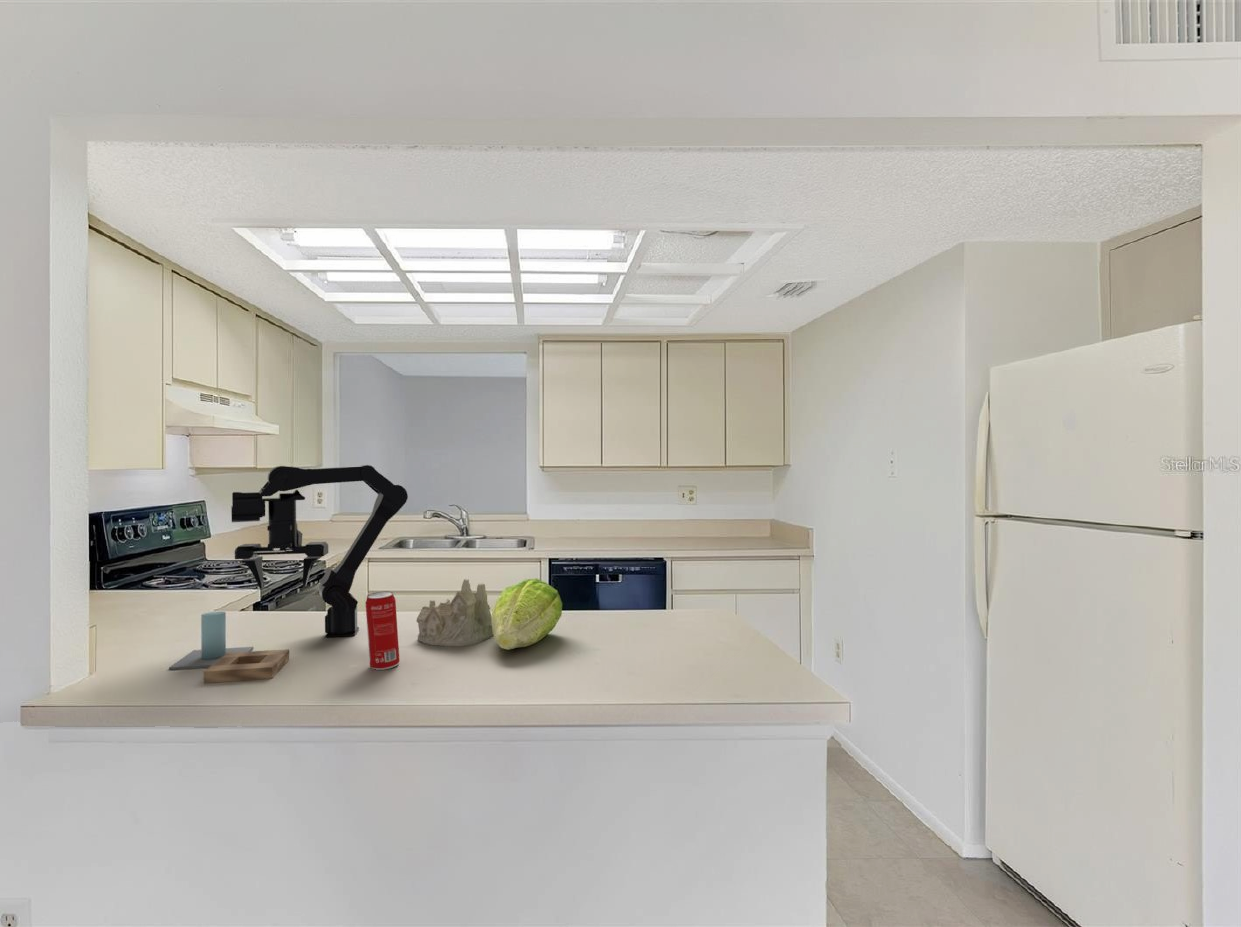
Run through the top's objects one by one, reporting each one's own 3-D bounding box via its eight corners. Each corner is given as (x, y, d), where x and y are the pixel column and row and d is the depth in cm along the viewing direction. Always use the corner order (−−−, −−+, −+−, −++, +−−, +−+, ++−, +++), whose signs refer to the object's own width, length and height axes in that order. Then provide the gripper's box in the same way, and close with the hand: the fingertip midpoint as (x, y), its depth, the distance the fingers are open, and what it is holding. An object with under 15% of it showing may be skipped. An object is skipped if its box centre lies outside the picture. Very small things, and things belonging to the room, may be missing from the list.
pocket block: (289, 659, 142) (289, 649, 142) (272, 678, 130) (272, 667, 130) (227, 663, 139) (226, 653, 139) (203, 683, 127) (203, 671, 127)
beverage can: (405, 663, 139) (404, 591, 139) (384, 673, 133) (383, 597, 133) (381, 660, 141) (380, 589, 141) (360, 669, 135) (359, 595, 134)
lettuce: (460, 627, 142) (517, 596, 138) (499, 588, 165) (548, 560, 162) (495, 684, 143) (553, 654, 139) (529, 637, 166) (579, 610, 163)
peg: (228, 652, 145) (228, 611, 145) (221, 658, 141) (221, 615, 141) (206, 654, 144) (205, 612, 144) (198, 660, 140) (197, 616, 140)
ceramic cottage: (506, 631, 163) (500, 570, 163) (461, 652, 148) (456, 584, 148) (455, 628, 170) (450, 569, 169) (408, 647, 155) (403, 583, 155)
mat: (253, 648, 149) (253, 646, 149) (234, 665, 138) (234, 663, 138) (193, 652, 147) (193, 650, 147) (168, 669, 135) (168, 667, 135)
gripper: (333, 516, 164) (333, 579, 165) (250, 517, 161) (250, 582, 161) (322, 520, 154) (323, 588, 154) (233, 522, 150) (234, 592, 150)
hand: (283, 587), depth 155 cm, fingers open, 9 cm apart
